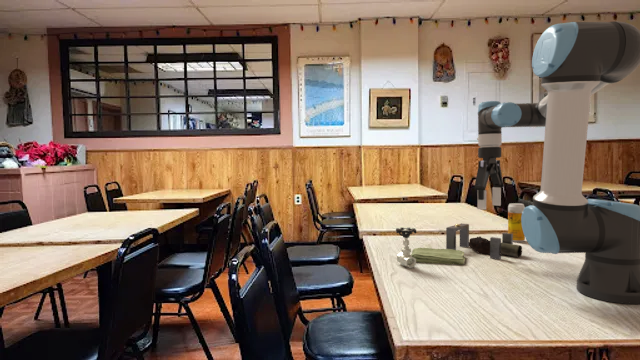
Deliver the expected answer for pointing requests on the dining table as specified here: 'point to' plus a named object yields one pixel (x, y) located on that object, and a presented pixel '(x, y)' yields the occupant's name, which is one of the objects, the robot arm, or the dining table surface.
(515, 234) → the beer glass
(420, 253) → the washcloth
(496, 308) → the dining table surface
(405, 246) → the valve
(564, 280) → the dining table surface
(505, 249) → the dark green flashlight
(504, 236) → the grey upright posts
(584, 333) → the dining table surface
